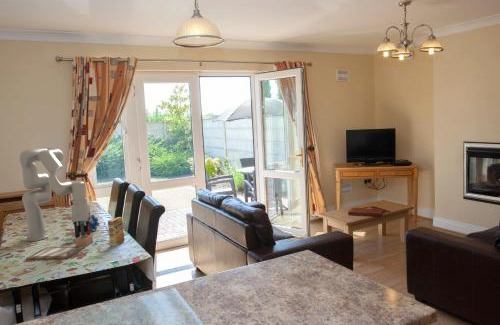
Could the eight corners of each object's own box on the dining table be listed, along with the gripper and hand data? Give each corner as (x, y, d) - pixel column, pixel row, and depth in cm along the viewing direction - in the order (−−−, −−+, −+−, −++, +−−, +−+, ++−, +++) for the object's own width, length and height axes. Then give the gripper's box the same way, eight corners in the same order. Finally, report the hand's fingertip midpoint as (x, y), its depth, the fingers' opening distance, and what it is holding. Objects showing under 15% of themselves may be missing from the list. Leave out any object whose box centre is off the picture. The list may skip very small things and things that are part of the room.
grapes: (84, 234, 255) (82, 216, 254) (81, 232, 260) (79, 215, 259) (101, 230, 263) (100, 213, 261) (98, 228, 268) (96, 211, 266)
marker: (80, 237, 230) (78, 221, 229) (83, 235, 233) (81, 219, 232) (85, 237, 230) (83, 221, 229) (87, 235, 233) (85, 219, 232)
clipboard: (26, 260, 210) (25, 256, 210) (46, 248, 228) (46, 245, 228) (66, 259, 207) (66, 255, 207) (84, 248, 225) (84, 244, 225)
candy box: (115, 246, 225) (113, 221, 224) (109, 245, 227) (107, 220, 225) (124, 241, 234) (122, 217, 232) (119, 241, 235) (116, 216, 233)
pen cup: (76, 246, 229) (75, 239, 229) (82, 242, 236) (81, 235, 236) (87, 246, 229) (86, 238, 228) (93, 242, 235) (92, 235, 235)
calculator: (80, 240, 241) (78, 217, 240) (74, 240, 242) (72, 217, 241) (91, 235, 252) (88, 212, 250) (85, 234, 253) (83, 212, 251)
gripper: (63, 204, 227) (67, 234, 229) (89, 202, 225) (92, 233, 227) (70, 201, 234) (74, 230, 236) (96, 200, 232) (99, 229, 234)
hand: (83, 231), depth 231 cm, fingers closed on marker, 3 cm apart
